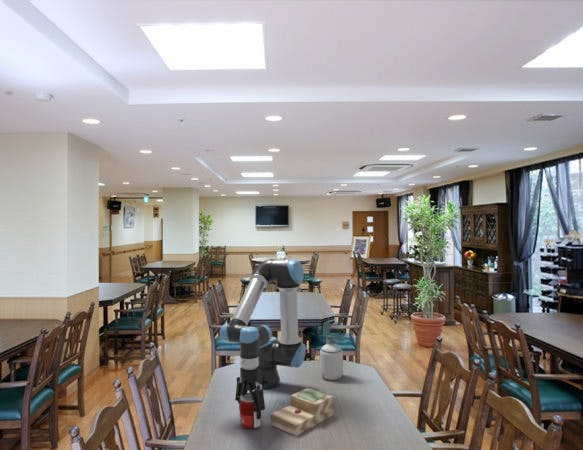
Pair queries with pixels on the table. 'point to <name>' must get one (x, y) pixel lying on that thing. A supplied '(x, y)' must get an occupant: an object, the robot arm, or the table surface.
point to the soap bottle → (331, 356)
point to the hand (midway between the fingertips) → (249, 422)
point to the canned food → (247, 410)
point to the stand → (303, 411)
